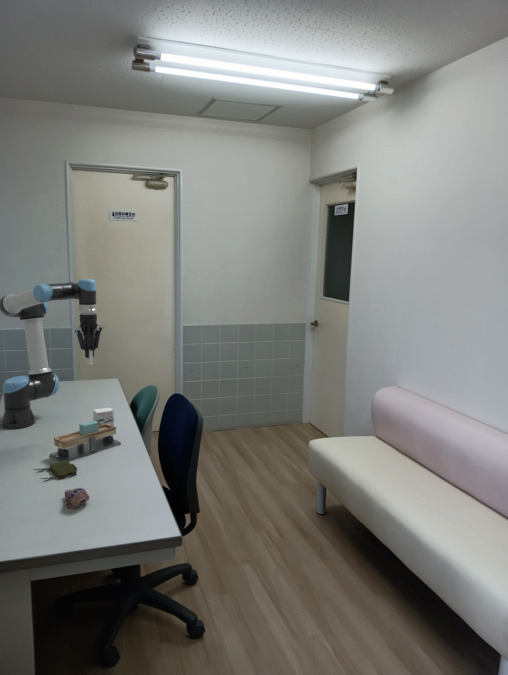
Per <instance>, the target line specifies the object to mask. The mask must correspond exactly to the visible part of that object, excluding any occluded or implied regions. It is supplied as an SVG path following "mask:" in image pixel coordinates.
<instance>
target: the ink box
mask: <svg viewBox="0 0 508 675" xmlns="http://www.w3.org/2000/svg"><path fill="white" fill-rule="evenodd" d="M92 412H93V413H92V414H93V416H92V417H93V420H94V421H97V422H99V425H103V424H110V425H112V426H115V423H114V422H115V419H114V418H115V417H114V416H115V414H114V409H113V408H111V407H110V406H109V407H103V408H95V409H93V410H92ZM93 420H92V421H93Z"/></svg>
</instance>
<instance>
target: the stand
mask: <svg viewBox="0 0 508 675" xmlns="http://www.w3.org/2000/svg"><path fill="white" fill-rule="evenodd" d="M121 445H122V442H121V441H119V440H116V439H114V436H113V435H110V436H107V437H104V438H100V439H97V440H96V437H91V438H89V442H86V443H83V444H80V445H76V446H73V447H69V448H66V449H61V448H59V447H57V451H54V452H52V453H50V454H49V456H50V458H52V459H54V460H57V461H59V462H62V461H65V460H66V461H68V462H69V463H71V462H72V461H75V460H78V459H82V458H83V457H87V456H90V455H93V454H96V453H99V452H102V451H105V450H109V449H111V448H115V447H117V446H121Z"/></svg>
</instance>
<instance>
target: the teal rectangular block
mask: <svg viewBox="0 0 508 675" xmlns="http://www.w3.org/2000/svg"><path fill="white" fill-rule="evenodd" d="M78 429H79V430H78V431H79V433H80V435H81V436H82V435H86V434H90V433H93V432H97V431H99V422H97V421H94V420H90V421H89V420H88V421H86V422H82V423H79V427H78Z"/></svg>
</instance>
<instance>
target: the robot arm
mask: <svg viewBox="0 0 508 675" xmlns="http://www.w3.org/2000/svg"><path fill="white" fill-rule="evenodd" d="M96 284H97V283H96V281H95V279H91V278H90V279H89V278H88V279H86V278H83V279H80V278H79V280H78V282H73V281H68V282H62V283H61V282H60V283H58V282H57V283H41V284H39V283H38V284H36V285H35V286H34V288H32V289H31V288H30V289H27V290H25V291H22V292H18V293H10V294H9V293H8V294H6V295H3V296H2V297H1V298H0V313H1V314H3V315H4V316H6V317H7V318H8V317H9V318H19V321H20V322H21V323H22V324H23V327H24V333H25V334H24V335H25V340H26V347H27V355H28V360H29V361H28V362H29V367H30V371H28V372H27V375H19V376H18V375H17V376H13V377H10V378H8V379H6V380H4V382H3V387H2V392H3V402H4V403H3V404H4V412H3V415H2V419H1V427H2V428H4V429H8V430H9V429H10V430H16V429H22V428H27V427H30V426H33V425H34V424H35V423H36V417H35V415H34V413H33V411H32V407H31V401H36V400H39V399H40V400H41V399H44V398H49V397H52V396H54V395H56V394H57V393H58V390H59V388H60V380H59V377H58V376H57V374H56V373H54V372H53V370H52V368H50V367H49V360H48V355H47V354H48V353H47V348H46V341H45V334H44V326H43V321H44V320H45V315H46V314H48V310H49V305H48V302H54V301H65V300H67V301H68V300H78V311H79V312H78V313H79V316H78V317H79V327H78V328H77V329H75V330H74V333H75V334H76V336H77V340H78V344H79V347H80V350H81V351H84V357H85V358H86V365H89V366H92V365H94V357H95V351H96V349H98V348H99V342H100V337H101V332H102V330H103V327H100V326H98V323H97V322H98V316H97V315H98V314H97V312H98V311H97V309H98V308H97V285H96Z"/></svg>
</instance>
